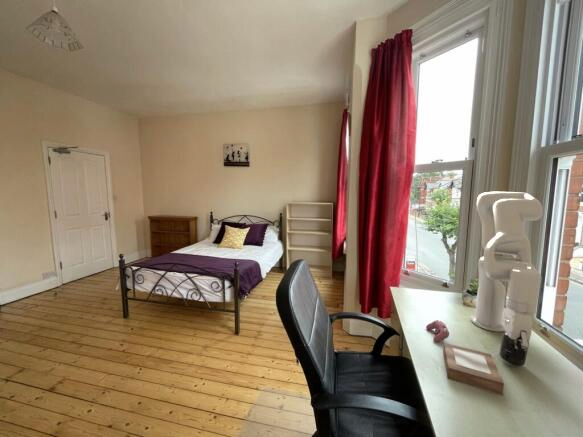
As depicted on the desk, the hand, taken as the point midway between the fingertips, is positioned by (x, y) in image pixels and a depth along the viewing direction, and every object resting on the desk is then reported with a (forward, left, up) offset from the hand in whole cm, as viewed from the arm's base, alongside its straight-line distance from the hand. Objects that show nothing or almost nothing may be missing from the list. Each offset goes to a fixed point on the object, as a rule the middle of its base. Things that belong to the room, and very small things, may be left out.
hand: (513, 351), depth 84 cm
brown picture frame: (+11, -14, -5) cm, 18 cm away
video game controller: (-7, -22, -5) cm, 24 cm away
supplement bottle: (0, 0, -4) cm, 4 cm away
